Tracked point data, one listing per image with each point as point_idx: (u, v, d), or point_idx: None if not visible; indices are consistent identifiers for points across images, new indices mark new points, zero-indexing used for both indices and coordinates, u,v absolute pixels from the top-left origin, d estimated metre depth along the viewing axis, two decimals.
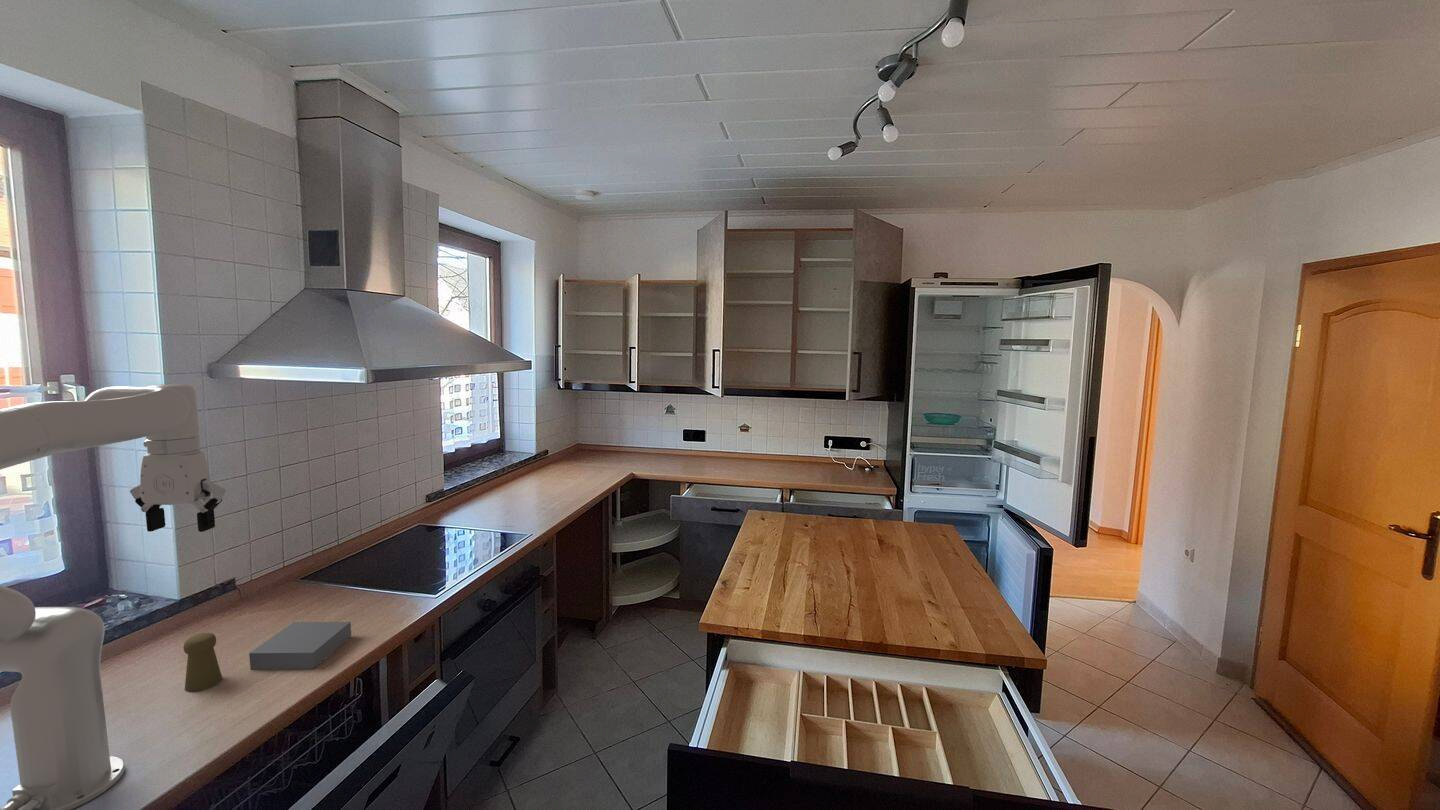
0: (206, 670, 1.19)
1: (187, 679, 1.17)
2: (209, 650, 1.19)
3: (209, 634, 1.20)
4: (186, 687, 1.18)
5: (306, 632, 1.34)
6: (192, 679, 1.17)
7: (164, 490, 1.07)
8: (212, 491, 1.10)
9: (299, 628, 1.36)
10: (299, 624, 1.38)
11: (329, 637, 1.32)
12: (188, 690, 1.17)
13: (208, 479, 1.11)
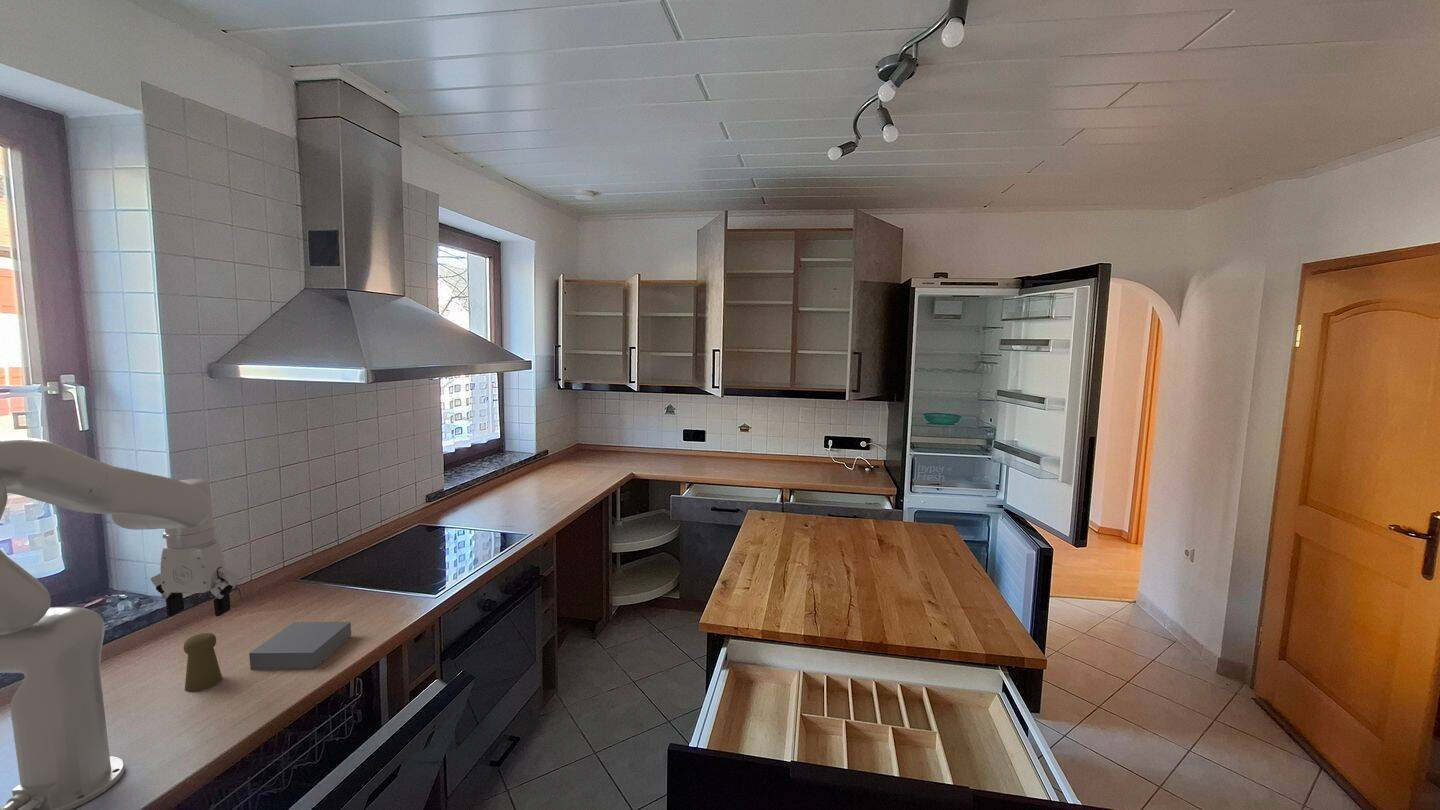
0: (206, 670, 1.19)
1: (187, 679, 1.17)
2: (209, 650, 1.19)
3: (209, 634, 1.20)
4: (186, 687, 1.18)
5: (306, 632, 1.34)
6: (192, 679, 1.17)
7: (183, 580, 1.15)
8: (227, 579, 1.18)
9: (299, 628, 1.36)
10: (299, 624, 1.38)
11: (329, 637, 1.32)
12: (188, 690, 1.17)
13: (223, 566, 1.19)
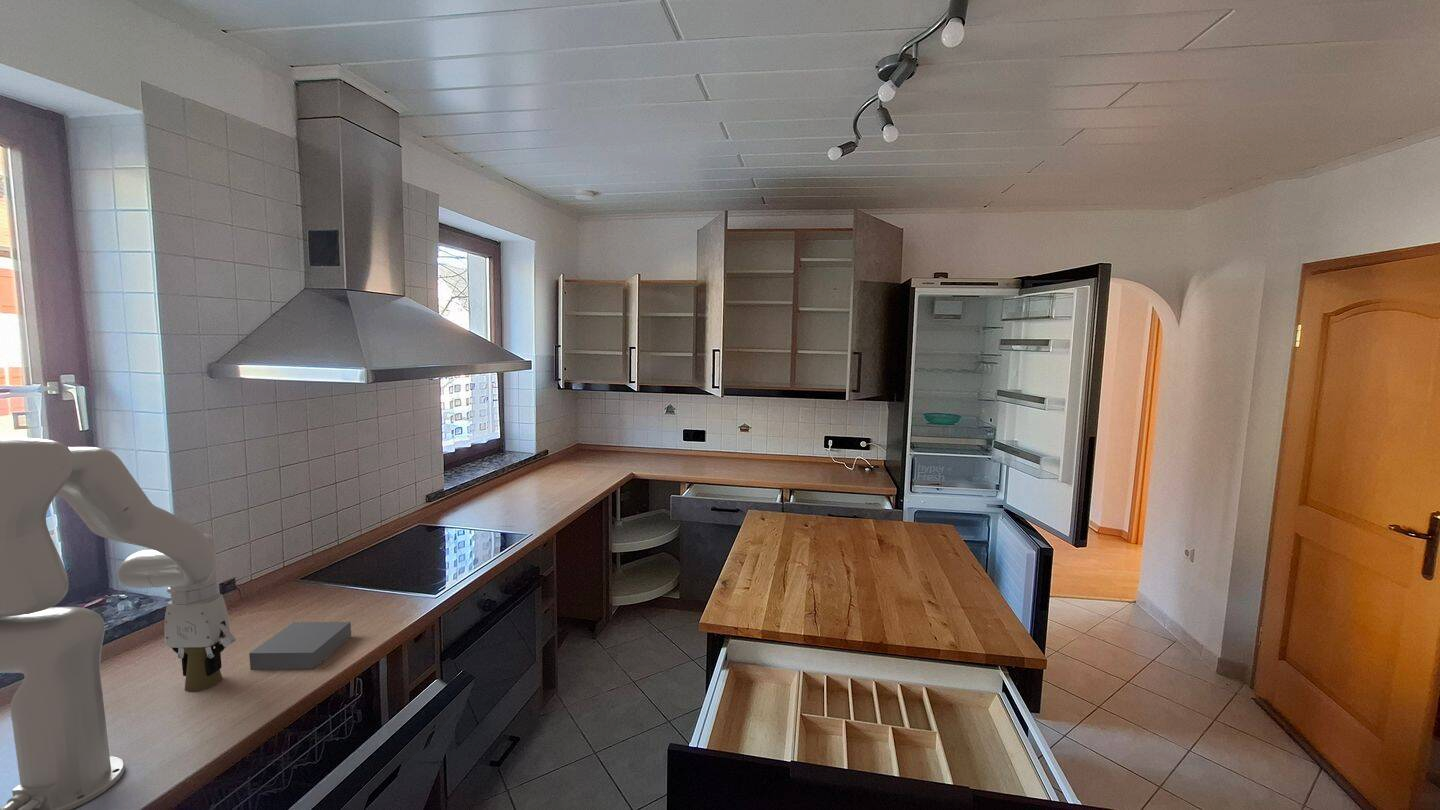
0: None
1: (187, 679, 1.17)
2: None
3: None
4: (186, 687, 1.18)
5: (306, 632, 1.34)
6: (192, 679, 1.17)
7: (186, 635, 1.16)
8: (224, 639, 1.19)
9: (299, 628, 1.36)
10: (299, 624, 1.38)
11: (329, 637, 1.32)
12: (188, 690, 1.17)
13: (226, 620, 1.20)
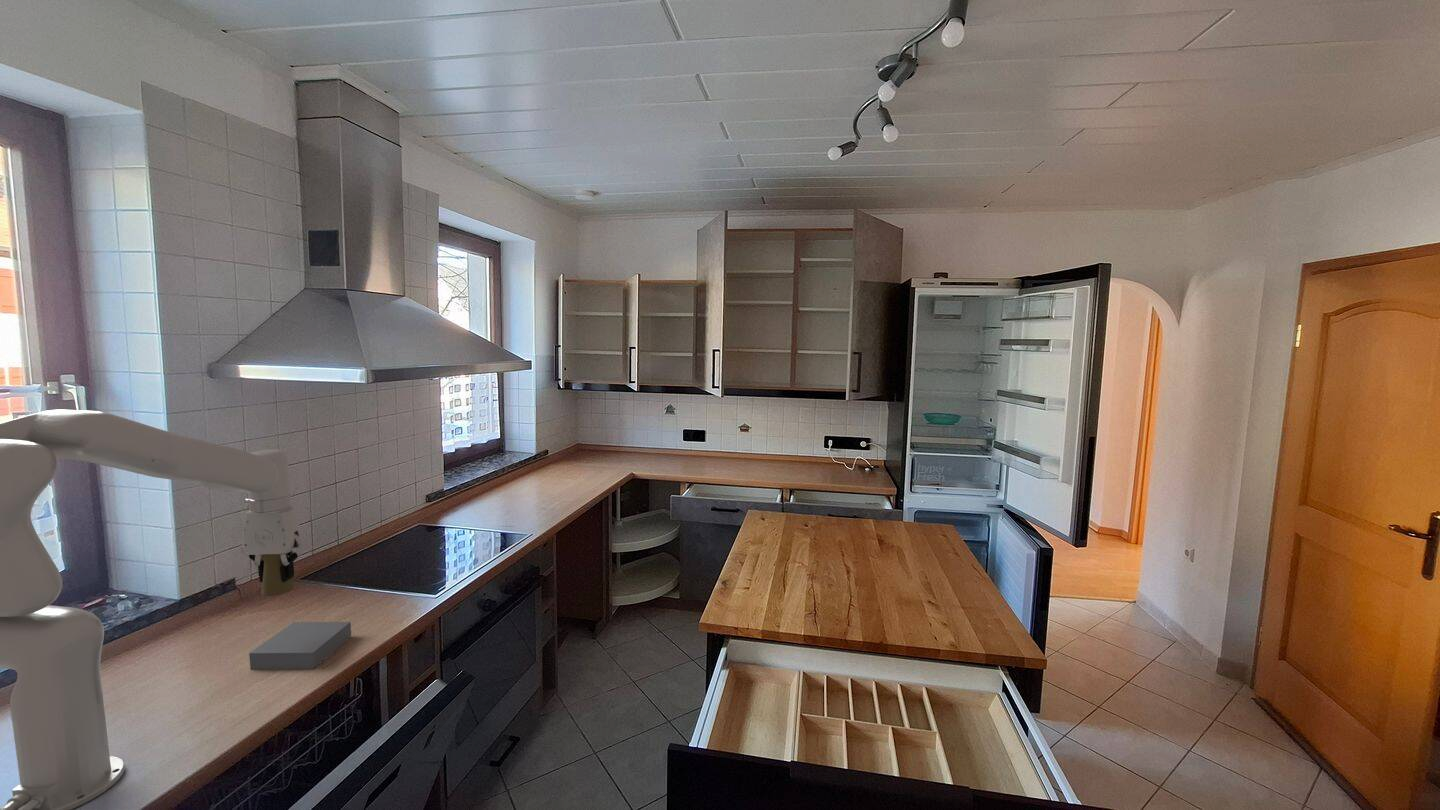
0: None
1: (264, 584, 1.25)
2: None
3: None
4: (263, 592, 1.26)
5: (306, 632, 1.34)
6: (269, 584, 1.25)
7: (264, 542, 1.24)
8: (297, 548, 1.27)
9: (299, 628, 1.36)
10: (299, 624, 1.38)
11: (329, 637, 1.32)
12: (265, 594, 1.25)
13: (299, 531, 1.28)
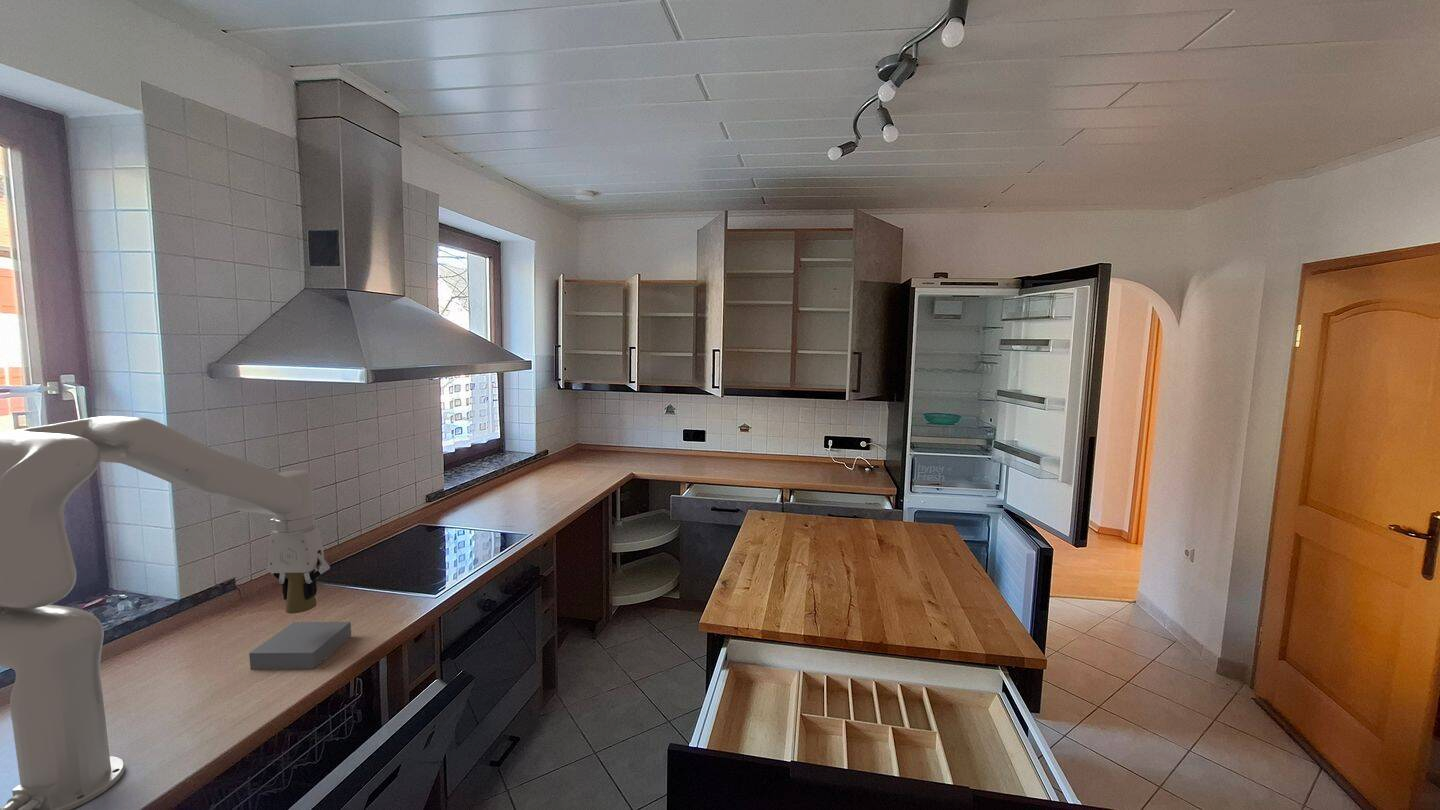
0: None
1: (288, 602, 1.29)
2: None
3: None
4: (287, 609, 1.29)
5: (306, 632, 1.34)
6: (293, 601, 1.29)
7: (288, 561, 1.27)
8: (320, 566, 1.30)
9: (299, 628, 1.36)
10: (299, 624, 1.38)
11: (329, 637, 1.32)
12: (289, 612, 1.29)
13: (322, 549, 1.31)
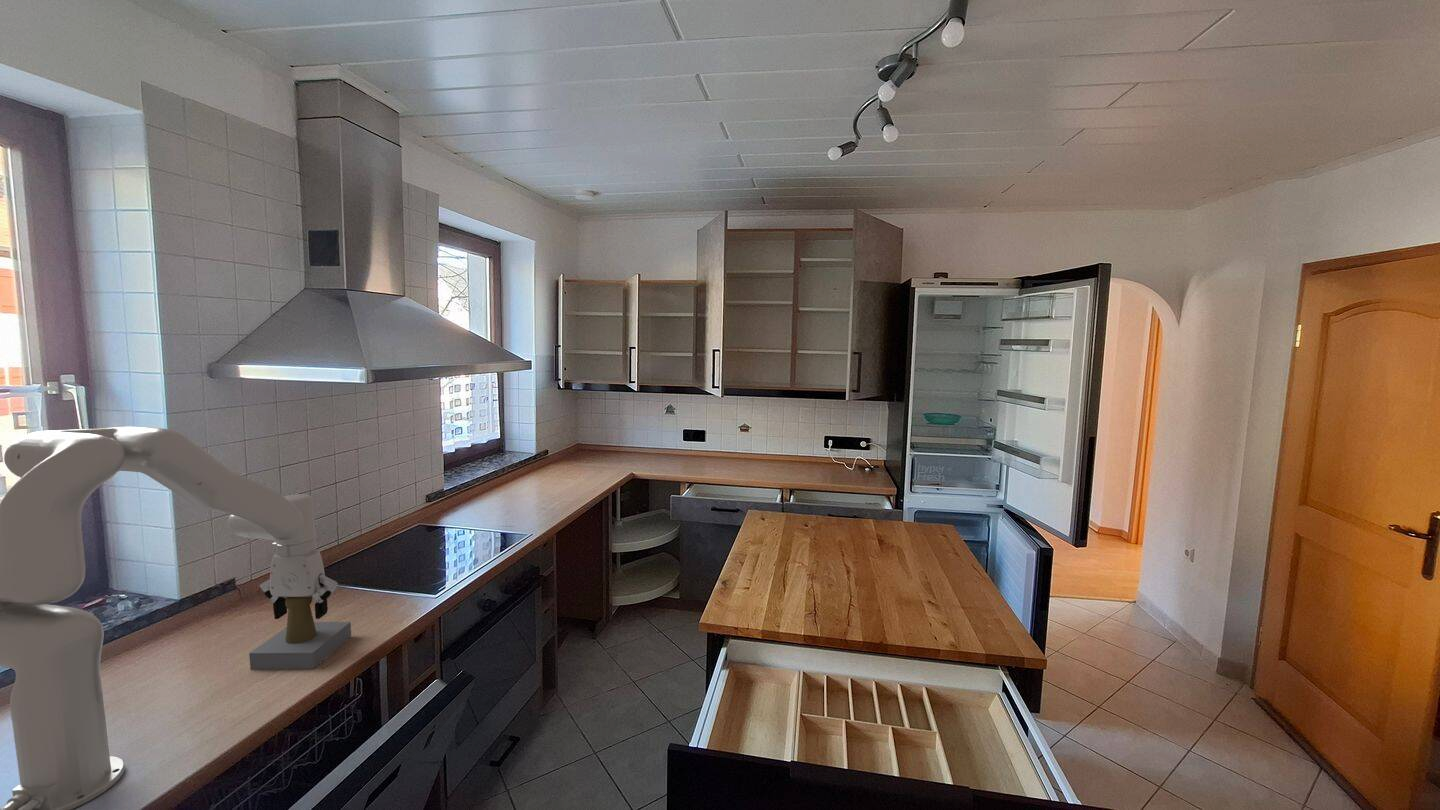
0: (305, 624, 1.30)
1: (288, 632, 1.29)
2: (307, 606, 1.31)
3: None
4: (287, 639, 1.30)
5: None
6: (293, 632, 1.29)
7: (290, 585, 1.28)
8: (327, 585, 1.31)
9: None
10: None
11: (329, 637, 1.32)
12: (289, 642, 1.29)
13: (323, 573, 1.32)
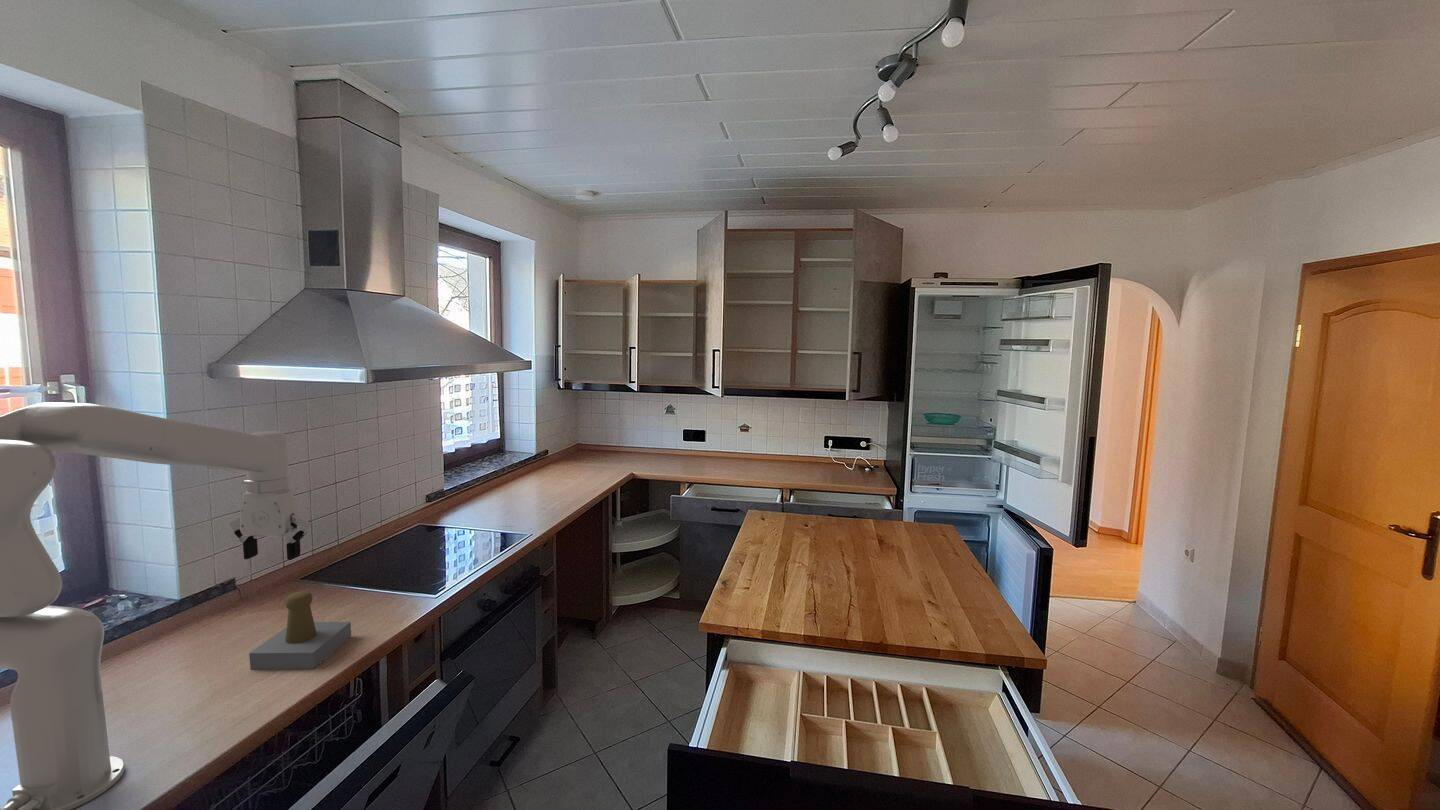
0: (305, 624, 1.31)
1: (288, 632, 1.29)
2: (307, 606, 1.31)
3: (306, 592, 1.32)
4: (287, 639, 1.30)
5: None
6: (293, 632, 1.29)
7: (260, 524, 1.24)
8: (300, 524, 1.26)
9: None
10: None
11: (329, 637, 1.32)
12: (289, 642, 1.29)
13: (296, 513, 1.28)
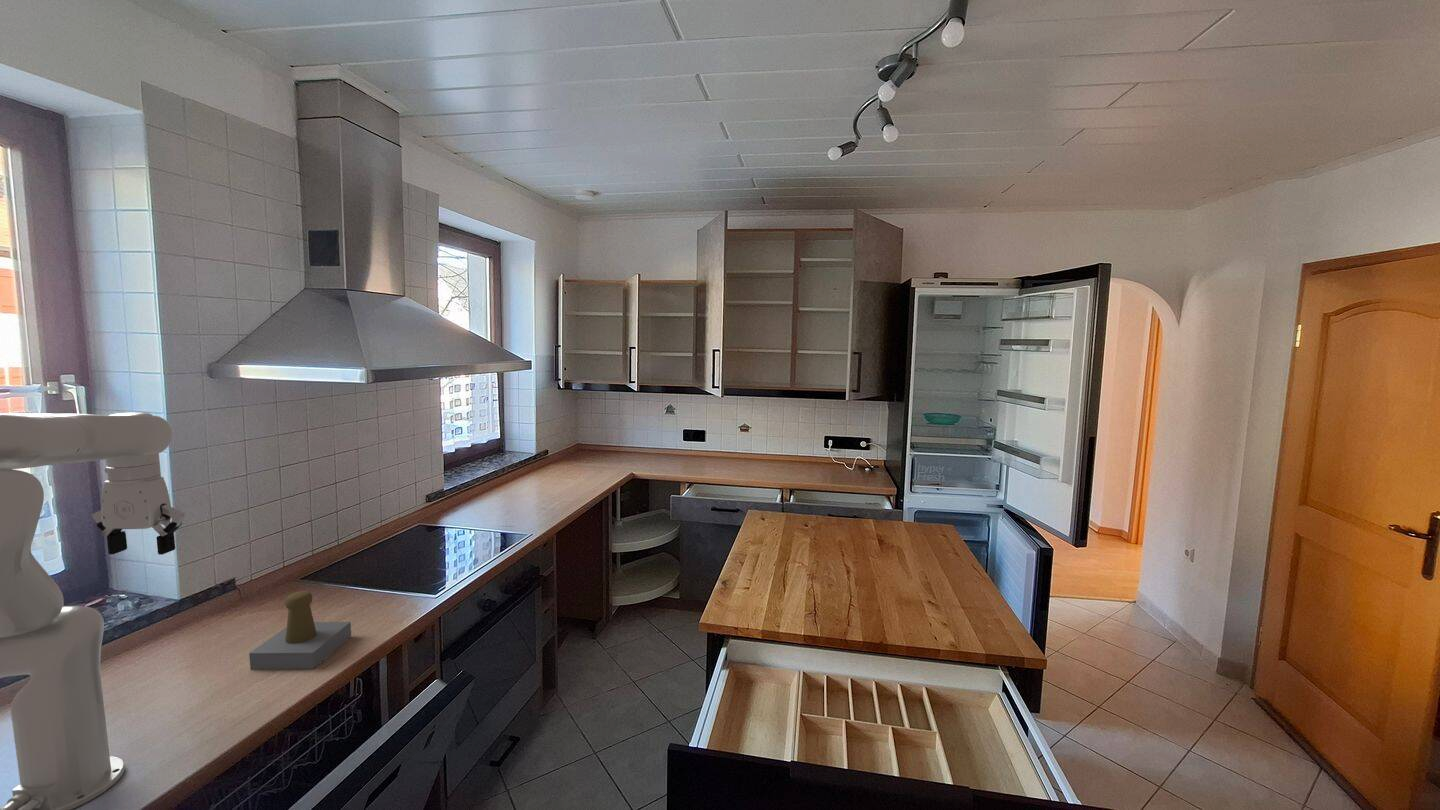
0: (305, 624, 1.31)
1: (288, 632, 1.29)
2: (307, 606, 1.31)
3: (306, 592, 1.32)
4: (287, 639, 1.30)
5: None
6: (293, 632, 1.29)
7: (124, 515, 1.12)
8: (171, 515, 1.14)
9: None
10: None
11: (329, 637, 1.32)
12: (289, 642, 1.29)
13: (168, 503, 1.16)
